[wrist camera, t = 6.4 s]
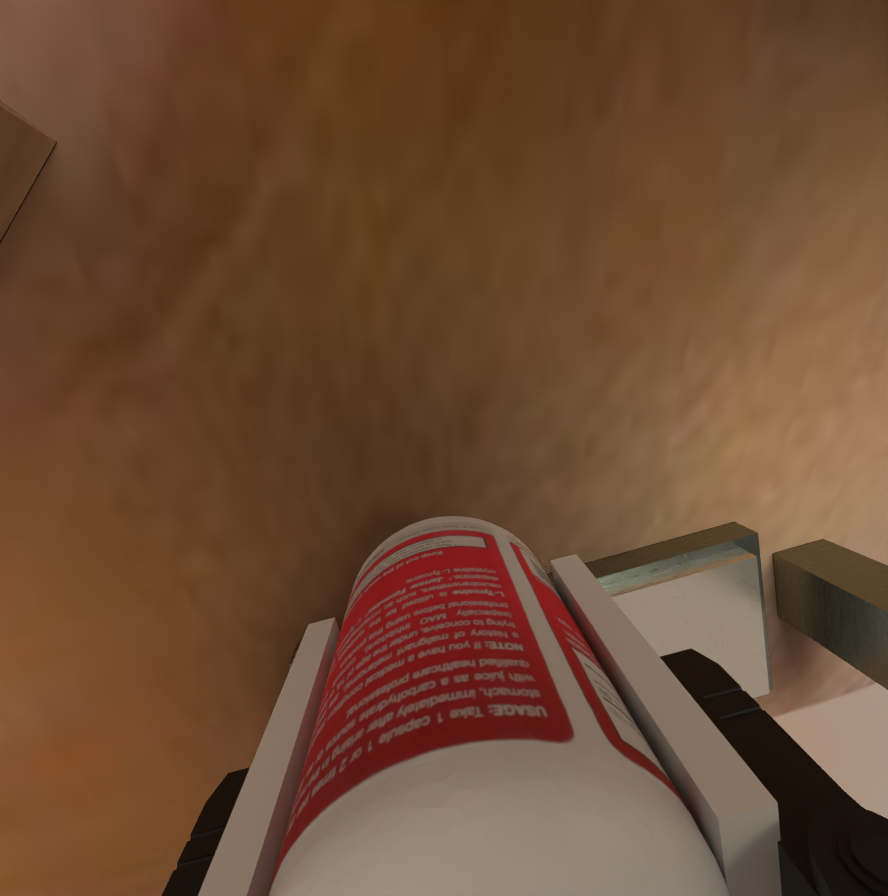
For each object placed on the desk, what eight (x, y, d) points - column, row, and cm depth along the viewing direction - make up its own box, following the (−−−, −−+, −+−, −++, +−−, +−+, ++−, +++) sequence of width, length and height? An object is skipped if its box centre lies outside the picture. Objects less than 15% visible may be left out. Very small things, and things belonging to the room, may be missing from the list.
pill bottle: (321, 642, 13) (-136, 1987, 2) (403, 476, 12) (279, 1490, 1) (490, 706, 14) (733, 1877, 3) (580, 557, 13) (1378, 1541, 2)
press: (343, 792, 23) (181, 1871, 7) (287, 646, 21) (-158, 1680, 4) (837, 647, 24) (1783, 1267, 8) (830, 495, 22) (2107, 884, 5)
